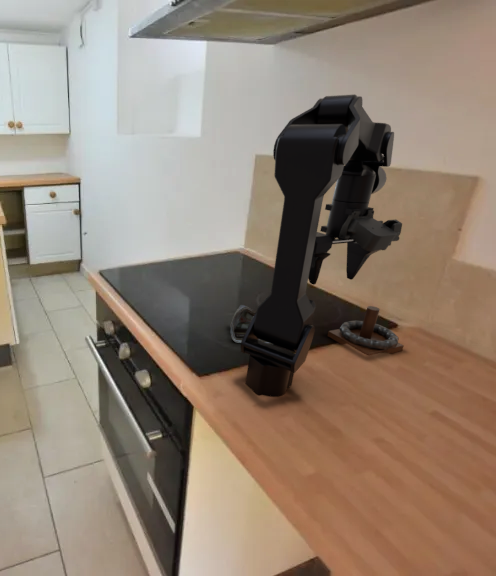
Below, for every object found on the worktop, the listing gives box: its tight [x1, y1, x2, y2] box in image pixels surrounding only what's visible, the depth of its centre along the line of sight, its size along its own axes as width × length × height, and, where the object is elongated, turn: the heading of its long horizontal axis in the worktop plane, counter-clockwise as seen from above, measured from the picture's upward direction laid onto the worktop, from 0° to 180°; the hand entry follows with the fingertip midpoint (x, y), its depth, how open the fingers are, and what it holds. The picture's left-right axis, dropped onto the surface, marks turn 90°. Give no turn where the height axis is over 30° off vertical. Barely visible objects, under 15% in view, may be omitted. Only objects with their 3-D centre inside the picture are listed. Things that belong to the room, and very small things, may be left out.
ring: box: [338, 320, 400, 350], centre depth 74 cm, size 10×10×2 cm
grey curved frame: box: [229, 304, 273, 345], centre depth 78 cm, size 10×7×12 cm
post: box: [327, 305, 405, 356], centre depth 74 cm, size 9×9×8 cm
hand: (331, 281), depth 74 cm, fingers open, 9 cm apart
